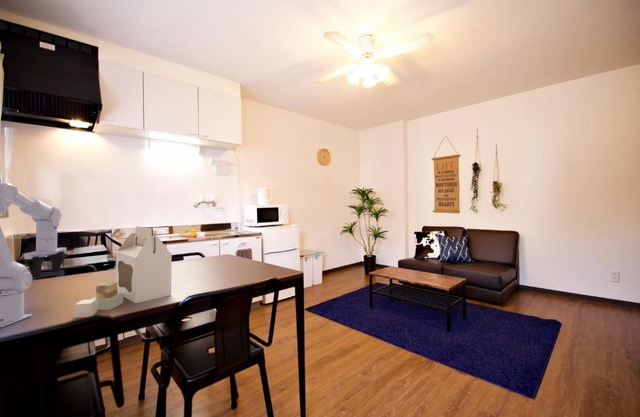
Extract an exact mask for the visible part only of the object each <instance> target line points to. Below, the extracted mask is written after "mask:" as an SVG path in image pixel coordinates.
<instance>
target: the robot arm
mask: <svg viewBox="0 0 640 417" xmlns="http://www.w3.org/2000/svg"><path fill="white" fill-rule="evenodd" d="M12 205H14V206H17V207H19V210H20V212H22V213H23V214H26V215H28V216H29V217H31V220H32V221H33V222H34V223H35V226H36V227H35V228H36V229H35V232H36V233H35V235H36V236H35V238H36V239H35V250H34V251H29V252H25V253H24V254H23V256H24V257H23V262H24V263H25V265H24V264H21V263H19V262H17V261H15V259H14V257H13V254H12V252H11V250H10V247H9V244H8V242H7V239H6V237H5V234H4V232H3V229H2V226H1V225H0V327H1V328H3V327H5V326H10V325H12V324H14V323H16V322H20V321H21V320H24V319H27V318H29V317H32V315H33V314H32V313H28V314H27V313H25V291H27V290H28V289H29V288H30V286H31V284H32V283H33V278H35V279H36V278H41V275H42V267H43V264H44V261H45V258H42V257H49V261H50V264H51V272H52V273H60V271H61V267H62V265H63V263H64V261H65V259H66V258H67V257H68V253H67V247H58V227H59V226H60V221H61V219H62V213H61V209H60V208H58V207H56V206H50V205H48V203H44V202H42V201H40V198H38V197H30V198H29V197H27V196H26V195H25V194H23V193H21V192H20V191H18V187H17V186H15V185H13V184H12V183H10V182H0V215H3V214H5V212H6V211H7V210H8V209H9V208H10V207H11V206H12ZM26 265H27V266H26ZM27 267H28V269H29V270H28V269H27Z"/></svg>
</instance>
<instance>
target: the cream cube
mask: <svg viewBox="0 0 640 417" xmlns="http://www.w3.org/2000/svg"><path fill="white" fill-rule="evenodd" d="M97 301H98V299H92V298H89V299H81V300H80V301H78V302H76V303H75V304H74V319H75V318H76V319H78V318H89V317H90V316H91V317H92V316H94V315H95V314H97V313H98V310H97Z"/></svg>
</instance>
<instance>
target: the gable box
mask: <svg viewBox="0 0 640 417" xmlns="http://www.w3.org/2000/svg"><path fill="white" fill-rule="evenodd" d="M153 229H154V228H151V227H146V226H137V225H136V226H135V232H132V233H130V234H129V235H128V237H127V238H126V239H125V240H124V242H123V243H122V245H120V247H119V248H118V249H117V250H116V251H115V282H118V284H117V293H123V298H125V299H127V300H129V301H131V302H132V303H134V304H139V303H144V302H148V301H153V300H157V299H162V298H166V297H169V296H172V264H173V263H172V257H173V256H172V253H171V252H170V251H169V250H168V248H167V247H166V246H165V244H164V243H163V241H162V240H161V239H160V238H159V237H158V236H156V234H157V230H153ZM145 239H146V240H145Z"/></svg>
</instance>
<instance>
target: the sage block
mask: <svg viewBox="0 0 640 417" xmlns="http://www.w3.org/2000/svg"><path fill="white" fill-rule="evenodd" d="M91 299H98V301H97V311H103V310H104V311H111V310H113V309H115V308H116V307H118V306H120V305H123V304H124V296H123V293H117V295H115V296H112V297H110V298H96V296H94V297H92V298H91Z"/></svg>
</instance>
